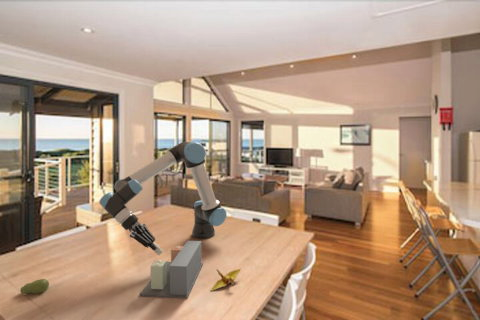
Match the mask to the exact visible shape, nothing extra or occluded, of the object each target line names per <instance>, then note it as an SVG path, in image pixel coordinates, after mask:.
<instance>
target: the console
mask: <svg viewBox="0 0 480 320" xmlns="http://www.w3.org/2000/svg"><path fill="white" fill-rule="evenodd" d="M182 246H183V248H182V249H181V251H180V252H179V253H178V255H177V256H176V257H175V259H174V260H173V262H172V263H171V261H167V284H166V286H165V287H164V289H163V290H161V289H151V279H150V280H149V281H148V283H146V285H145V287H144V288H143V289H142V291H140V293H139V294H138V295H139V297H146V298H147V297H148V298H167V299H168V298H169V299H186V300H187V299H189V296H190V294H191V292H192V289H193V288H194V285H195V283H196V281H197V279H198V278H199V275H200V272H201V270H202V268H203V266H204V263H202V240H187V241H186V242H185V244H184V245H182Z"/></svg>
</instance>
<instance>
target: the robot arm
mask: <svg viewBox="0 0 480 320" xmlns="http://www.w3.org/2000/svg"><path fill="white" fill-rule="evenodd" d="M165 152H166V153H165V154H163V155H161V156H160V157H158V158H157V159H155V160H154V161H151V162H150V163H148V164H147V165H145V166H144V167H141V168H140V169H138V170H137V171H135V172H133V173H131V174H130V175H128V176H126V177H124V178H123V179H118V180H117V181H116V182H115V183H114V190H115V191H116V192H112V191H108V192H107V193H106V194H104V195H103V196H102V197H100V199H99V202H98V203H99V205H100V206H101V207H102V208H103V209H104V210H105V211H106V212H107V213H108V214H109V215H110V216H111V217H112V218H113V219H115V221H116V222H117V223H118V224H119V225H121V228H123V229H124V230H125V231H129V232H130V234H129V237H130V238H131V239H134V240H136V241H137V242H138V243H139V244H141V245H142V246H143V247H144V248H150V249H151V250H152V251H154V253H156V255H157V256H160V255H161V254H162V253H163V252H164V249H162V247H160V245H159V244H157V242H156V237H155V236H154V235H153V234H152V232H151V231H150V229H149V228H148V227H147V225H146V224H145V223H142V224H141V223H140V222H139V218H138V217H137V216H136V215H135V213H134V214H133V211H131V209H129V208H128V207H127V206H126V204H128V203H129V202H130V201H132V199H133V198H135V197H136V196H137V195H139V194H140V193H141V191H142V190H143V186H142V184H144V183H146V182H148V181H149V180H151V179H152V178H154V177H155V176H157V175H158V174H160V173H161V172H163V171H164V170H166V169H169V168H170V167H171V166H172V165H175V166H176V165H177V164H179V163H182V162H184V164H185V167H186V168H187V169H188V170H190V173H191V176H192V179H193V182H194V184H195V187H196V189H197V193H198V195H199V198H200V200H197V201H195V202H194V204H193V209H194V212H193V213H194V214H193V215H194V224H193V228H192V231H191V236H192V237H193V238H196V239H208V238H209V239H210V238H212V237H213V236H215V234H216V230H215V227H220V226H221V225H222V224H224V223H225V221H226V220H227V211H226V209H224V207H222V205H221V203H220V200H218V199H217V198H216V196H215V192H214V189H213V187H212V184H211V181H210V178H209V176H208V172H207V169H206V166H205V163H206V160H205V159H206V154H207V153H206V152H207V151H206V149H205V147H204V145H202V144H201V143H199V142H195V141H182V142H179V143H178V144H176V145H174V146H173V147H172V148H170V149H168V150H166V151H165Z"/></svg>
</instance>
